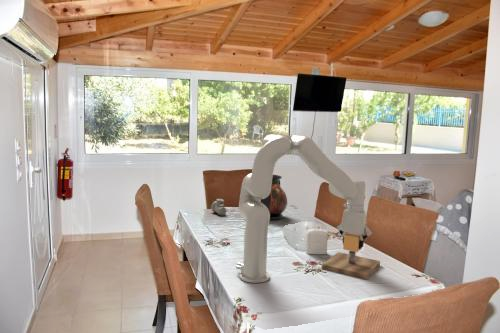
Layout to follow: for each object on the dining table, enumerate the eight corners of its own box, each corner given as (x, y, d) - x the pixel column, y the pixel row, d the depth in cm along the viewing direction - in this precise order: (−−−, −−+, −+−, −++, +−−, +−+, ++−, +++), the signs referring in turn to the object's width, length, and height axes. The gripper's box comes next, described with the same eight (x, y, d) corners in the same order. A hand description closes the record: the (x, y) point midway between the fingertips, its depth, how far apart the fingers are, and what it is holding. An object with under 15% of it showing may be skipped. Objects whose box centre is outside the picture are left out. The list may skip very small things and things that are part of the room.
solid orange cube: (343, 249, 176) (344, 235, 175) (348, 245, 181) (348, 231, 180) (357, 252, 172) (358, 237, 172) (361, 248, 178) (362, 234, 177)
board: (321, 268, 175) (322, 253, 174) (338, 256, 192) (338, 242, 191) (367, 279, 164) (368, 263, 163) (379, 265, 181) (380, 250, 180)
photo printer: (306, 254, 192) (307, 230, 191) (305, 251, 197) (306, 227, 195) (327, 255, 192) (329, 230, 191) (326, 252, 196) (327, 228, 195)
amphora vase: (266, 212, 277) (267, 172, 273) (292, 217, 264) (294, 175, 261) (247, 217, 260) (249, 175, 256) (275, 223, 247) (277, 179, 244)
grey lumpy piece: (209, 211, 271) (211, 197, 269) (220, 211, 275) (222, 197, 273) (216, 217, 261) (218, 203, 259) (227, 217, 264) (229, 203, 263)
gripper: (333, 206, 176) (331, 245, 178) (372, 212, 167) (369, 253, 169) (339, 203, 182) (337, 241, 184) (377, 208, 173) (374, 248, 175)
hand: (352, 246), depth 177 cm, fingers closed on solid orange cube, 6 cm apart
